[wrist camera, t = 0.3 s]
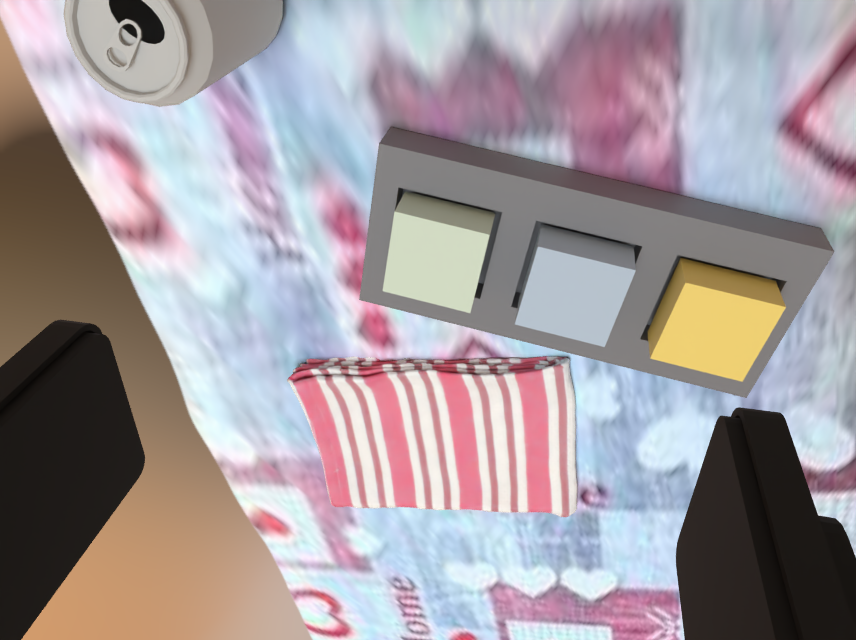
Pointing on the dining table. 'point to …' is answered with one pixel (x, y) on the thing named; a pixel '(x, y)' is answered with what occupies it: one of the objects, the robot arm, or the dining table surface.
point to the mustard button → (714, 319)
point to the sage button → (437, 251)
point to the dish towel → (444, 432)
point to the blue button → (575, 285)
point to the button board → (594, 216)
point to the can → (167, 43)
